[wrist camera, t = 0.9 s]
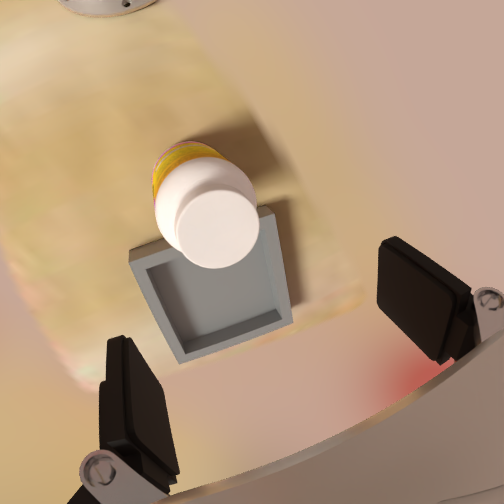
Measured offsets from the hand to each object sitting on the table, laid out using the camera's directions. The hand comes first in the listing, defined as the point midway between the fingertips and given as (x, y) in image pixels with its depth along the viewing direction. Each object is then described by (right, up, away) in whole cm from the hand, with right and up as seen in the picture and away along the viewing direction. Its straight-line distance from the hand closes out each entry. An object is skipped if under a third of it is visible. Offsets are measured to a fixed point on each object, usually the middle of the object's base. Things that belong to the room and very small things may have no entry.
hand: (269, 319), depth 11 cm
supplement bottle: (-6, +9, +17) cm, 21 cm away
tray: (-4, -1, +23) cm, 24 cm away
